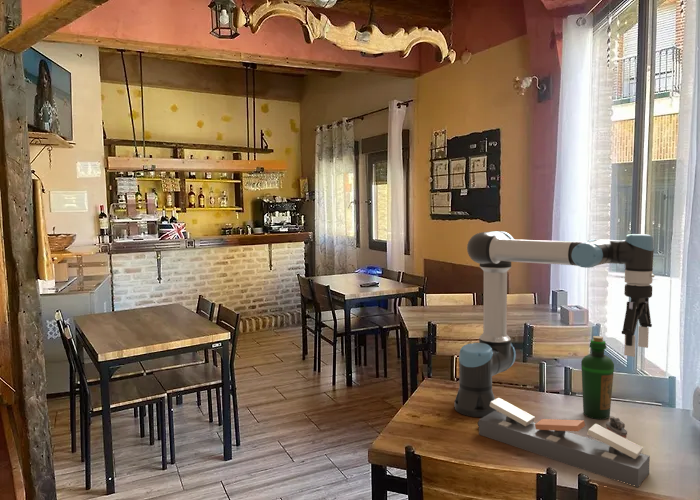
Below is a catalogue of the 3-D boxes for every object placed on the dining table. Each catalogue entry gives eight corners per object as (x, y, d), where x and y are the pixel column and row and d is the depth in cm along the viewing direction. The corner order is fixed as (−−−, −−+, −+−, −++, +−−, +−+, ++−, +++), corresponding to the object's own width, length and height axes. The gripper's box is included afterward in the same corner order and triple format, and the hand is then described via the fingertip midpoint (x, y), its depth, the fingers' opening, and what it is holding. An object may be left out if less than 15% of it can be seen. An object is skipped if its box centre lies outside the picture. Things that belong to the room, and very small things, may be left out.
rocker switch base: (470, 431, 170) (470, 412, 169) (486, 422, 177) (486, 403, 176) (637, 487, 135) (638, 462, 134) (649, 473, 142) (649, 449, 141)
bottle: (617, 422, 175) (619, 341, 173) (583, 420, 178) (585, 340, 175) (608, 410, 186) (610, 334, 184) (576, 408, 188) (578, 333, 186)
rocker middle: (536, 429, 158) (534, 424, 158) (543, 424, 162) (542, 418, 162) (578, 431, 149) (576, 425, 149) (585, 425, 153) (584, 420, 153)
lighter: (602, 445, 159) (603, 413, 158) (613, 444, 159) (614, 413, 158) (618, 457, 151) (619, 424, 150) (629, 457, 151) (630, 424, 150)
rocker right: (587, 434, 147) (588, 429, 147) (594, 428, 151) (595, 423, 150) (635, 459, 138) (637, 454, 138) (641, 452, 142) (643, 447, 142)
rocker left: (489, 406, 169) (490, 401, 168) (497, 401, 173) (498, 397, 172) (525, 426, 160) (527, 421, 160) (533, 421, 164) (534, 416, 164)
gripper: (639, 290, 148) (637, 362, 150) (663, 280, 166) (661, 345, 167) (611, 287, 154) (609, 357, 155) (637, 278, 171) (635, 341, 173)
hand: (636, 351), depth 161 cm, fingers open, 13 cm apart
